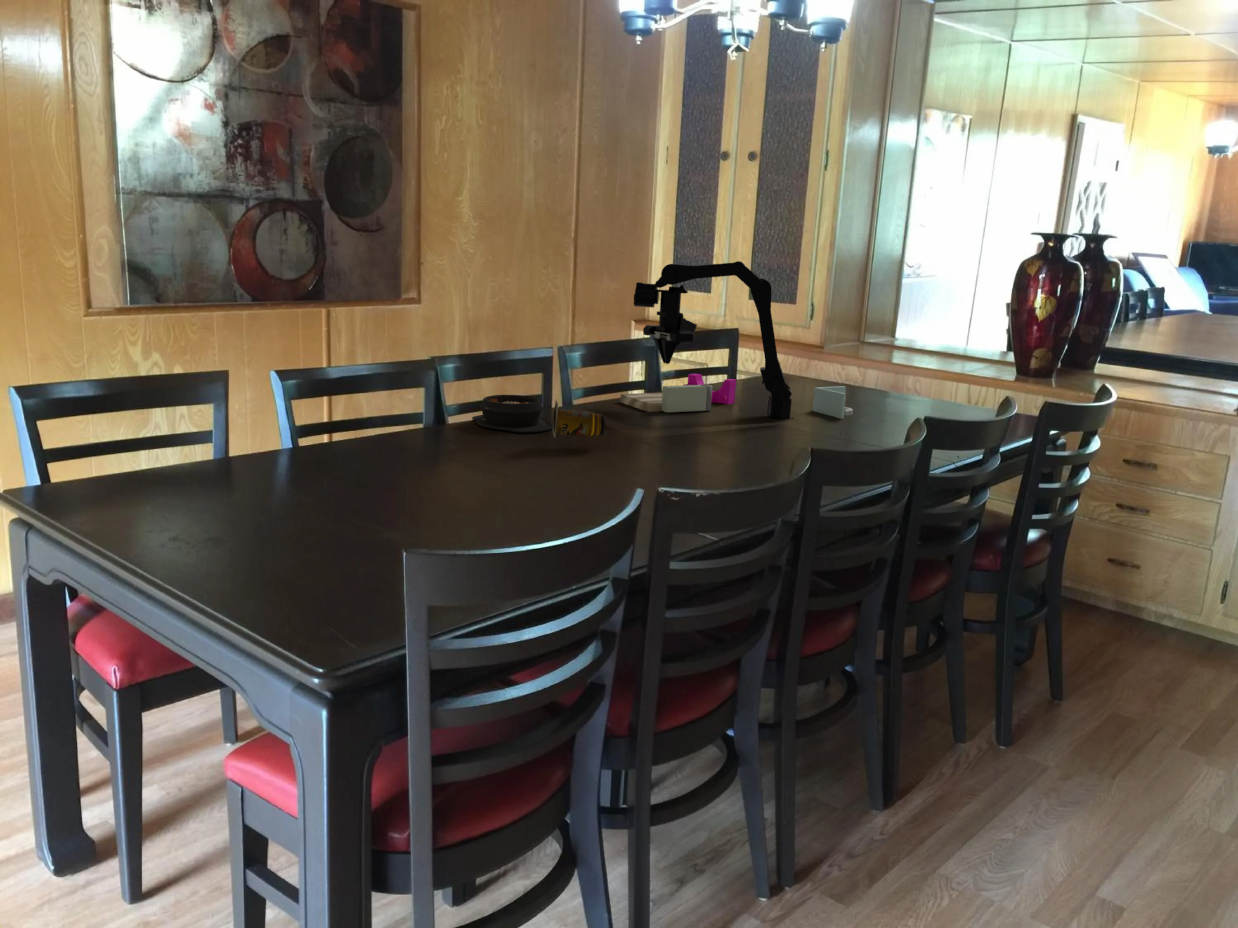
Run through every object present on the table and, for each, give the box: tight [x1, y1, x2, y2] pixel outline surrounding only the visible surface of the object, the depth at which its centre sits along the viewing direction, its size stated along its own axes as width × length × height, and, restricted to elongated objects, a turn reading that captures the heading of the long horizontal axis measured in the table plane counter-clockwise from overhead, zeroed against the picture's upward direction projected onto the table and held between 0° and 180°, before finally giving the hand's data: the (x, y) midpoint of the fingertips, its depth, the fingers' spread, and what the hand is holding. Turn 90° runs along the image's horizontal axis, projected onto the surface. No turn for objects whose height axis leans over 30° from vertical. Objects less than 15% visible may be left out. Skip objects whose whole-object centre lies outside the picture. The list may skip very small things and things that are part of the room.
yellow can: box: [552, 400, 606, 438], centre depth 235 cm, size 7×8×12 cm
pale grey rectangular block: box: [660, 384, 713, 413], centre depth 278 cm, size 16×3×7 cm, turn 120°
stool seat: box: [619, 392, 662, 413], centre depth 286 cm, size 16×20×2 cm
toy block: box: [684, 373, 737, 405], centre depth 299 cm, size 15×6×8 cm, turn 54°
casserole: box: [471, 394, 553, 434], centre depth 258 cm, size 25×19×8 cm
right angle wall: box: [812, 385, 854, 419], centre depth 288 cm, size 12×12×8 cm
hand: (666, 363), depth 279 cm, fingers closed
